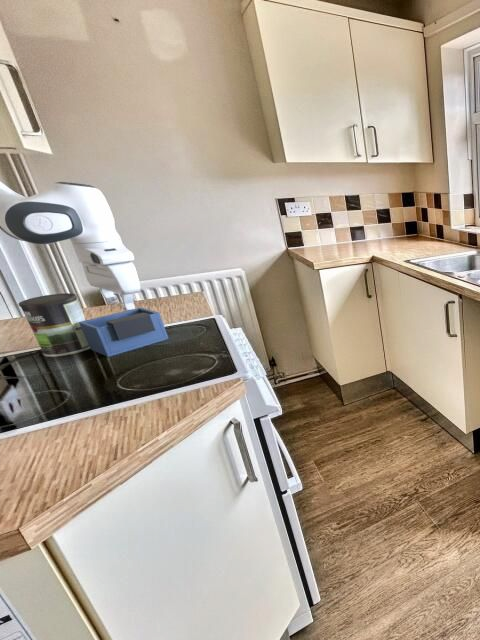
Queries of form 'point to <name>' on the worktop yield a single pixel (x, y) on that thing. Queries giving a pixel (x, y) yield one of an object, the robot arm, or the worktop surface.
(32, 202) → the robot arm
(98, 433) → the worktop surface
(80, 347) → the coffee can
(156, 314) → the blue box
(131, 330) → the dark gray block
